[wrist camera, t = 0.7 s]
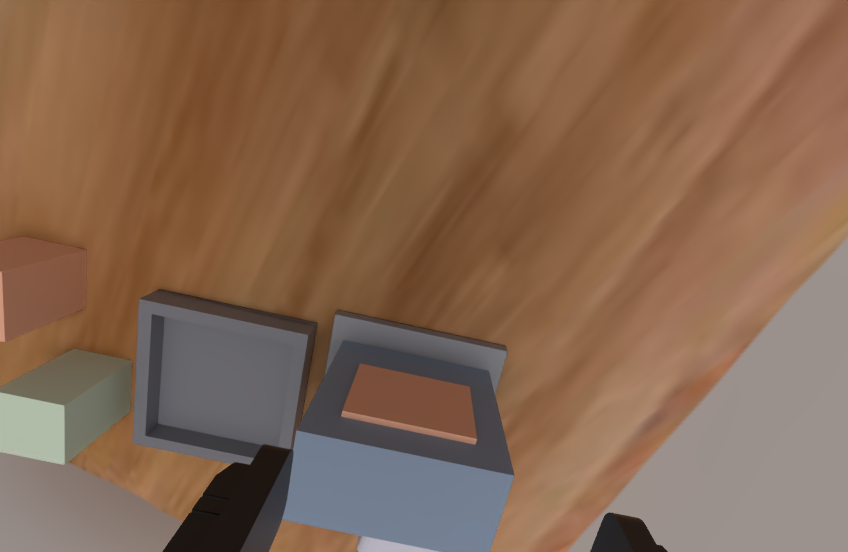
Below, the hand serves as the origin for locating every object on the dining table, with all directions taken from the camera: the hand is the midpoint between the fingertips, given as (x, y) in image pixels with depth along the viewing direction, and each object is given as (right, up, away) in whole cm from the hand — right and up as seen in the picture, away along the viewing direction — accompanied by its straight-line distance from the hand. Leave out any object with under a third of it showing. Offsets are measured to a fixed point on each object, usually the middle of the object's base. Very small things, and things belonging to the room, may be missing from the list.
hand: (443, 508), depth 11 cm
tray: (-17, -3, +26) cm, 31 cm away
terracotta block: (-30, +6, +24) cm, 39 cm away
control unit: (-2, -3, +26) cm, 26 cm away
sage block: (-28, -3, +27) cm, 39 cm away
